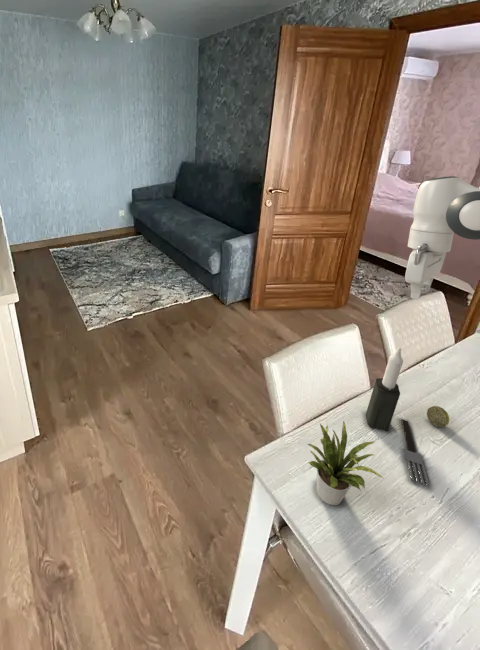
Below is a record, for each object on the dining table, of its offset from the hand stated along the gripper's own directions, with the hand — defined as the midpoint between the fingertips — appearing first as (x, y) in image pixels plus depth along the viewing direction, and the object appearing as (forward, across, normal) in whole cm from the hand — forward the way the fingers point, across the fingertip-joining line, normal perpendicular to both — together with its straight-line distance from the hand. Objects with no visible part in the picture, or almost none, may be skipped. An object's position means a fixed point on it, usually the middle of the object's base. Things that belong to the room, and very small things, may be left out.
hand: (420, 294), depth 89 cm
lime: (+36, +6, -7) cm, 37 cm away
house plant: (+41, -33, +3) cm, 53 cm away
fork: (+38, -8, -5) cm, 39 cm away
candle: (+36, -6, +4) cm, 37 cm away
